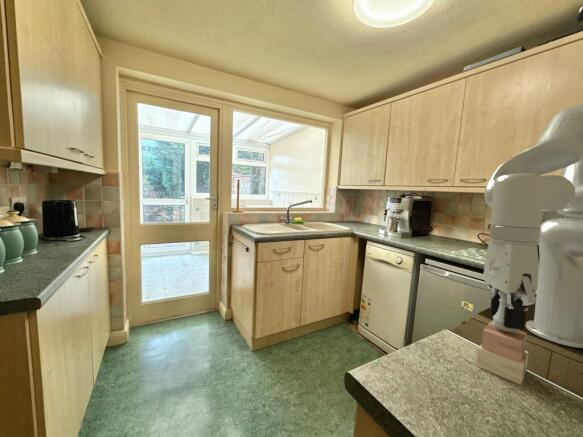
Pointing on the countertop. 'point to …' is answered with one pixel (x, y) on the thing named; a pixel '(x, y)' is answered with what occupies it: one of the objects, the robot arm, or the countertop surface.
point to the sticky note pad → (503, 353)
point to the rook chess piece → (502, 313)
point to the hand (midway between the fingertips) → (505, 321)
